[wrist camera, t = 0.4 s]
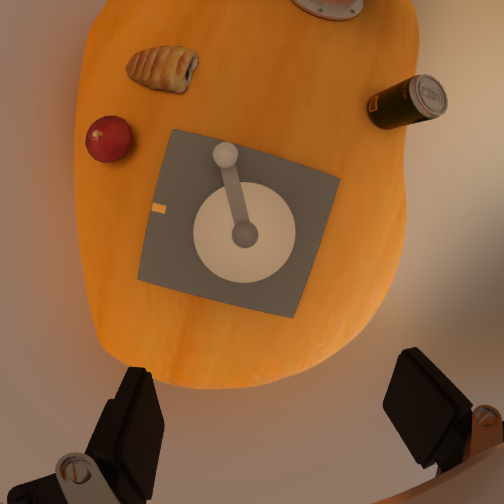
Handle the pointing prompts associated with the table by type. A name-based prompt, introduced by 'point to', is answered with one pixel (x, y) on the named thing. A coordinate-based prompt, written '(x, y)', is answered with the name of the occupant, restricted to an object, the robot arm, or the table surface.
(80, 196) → the table surface
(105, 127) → the onion
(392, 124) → the beer can
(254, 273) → the dial
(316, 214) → the base plate
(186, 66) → the pastry
